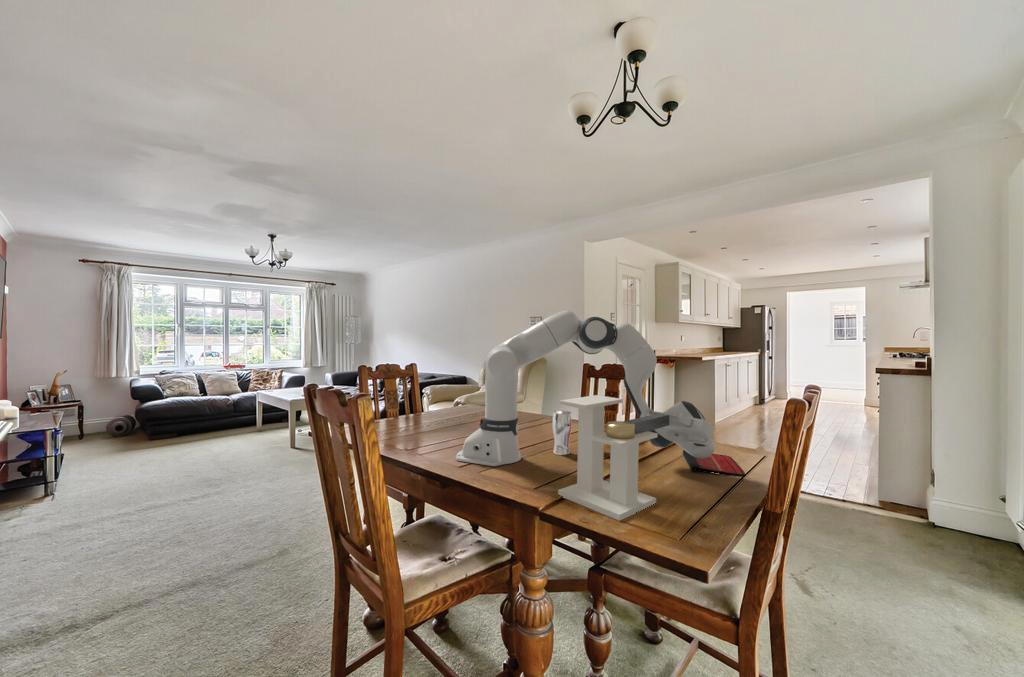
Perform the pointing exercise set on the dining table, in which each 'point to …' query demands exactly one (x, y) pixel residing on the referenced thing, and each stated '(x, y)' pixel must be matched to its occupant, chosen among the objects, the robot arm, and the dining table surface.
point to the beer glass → (562, 431)
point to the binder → (714, 464)
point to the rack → (591, 488)
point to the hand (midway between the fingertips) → (662, 413)
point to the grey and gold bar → (635, 426)
